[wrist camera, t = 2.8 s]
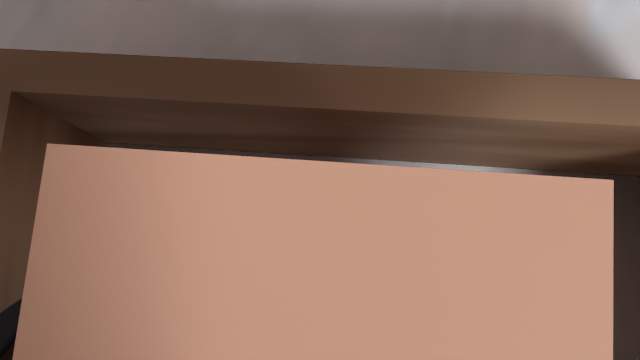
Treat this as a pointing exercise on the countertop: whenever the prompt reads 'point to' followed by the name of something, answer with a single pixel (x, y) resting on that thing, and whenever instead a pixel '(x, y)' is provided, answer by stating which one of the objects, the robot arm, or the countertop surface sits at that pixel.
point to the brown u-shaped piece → (296, 119)
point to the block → (312, 261)
